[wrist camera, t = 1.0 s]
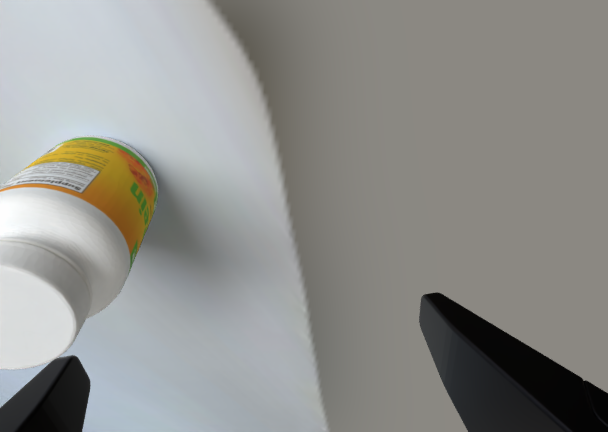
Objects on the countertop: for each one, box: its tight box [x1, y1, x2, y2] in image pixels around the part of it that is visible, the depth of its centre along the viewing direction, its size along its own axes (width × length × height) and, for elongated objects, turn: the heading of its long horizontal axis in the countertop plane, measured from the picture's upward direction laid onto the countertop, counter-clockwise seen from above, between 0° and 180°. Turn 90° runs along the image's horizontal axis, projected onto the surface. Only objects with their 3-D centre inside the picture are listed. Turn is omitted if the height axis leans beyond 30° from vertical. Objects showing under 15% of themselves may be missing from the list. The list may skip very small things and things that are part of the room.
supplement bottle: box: [0, 135, 158, 370], centre depth 15 cm, size 5×5×10 cm
